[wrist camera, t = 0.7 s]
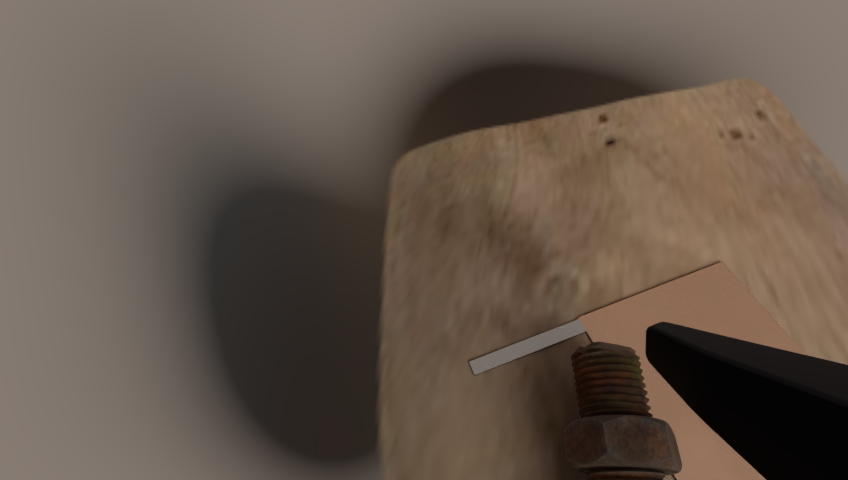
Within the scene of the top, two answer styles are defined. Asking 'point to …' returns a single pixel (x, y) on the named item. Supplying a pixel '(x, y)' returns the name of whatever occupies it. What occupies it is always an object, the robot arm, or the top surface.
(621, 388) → the bolt
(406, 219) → the top surface
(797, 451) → the robot arm
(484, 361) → the seat and pad
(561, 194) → the top surface
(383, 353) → the top surface
